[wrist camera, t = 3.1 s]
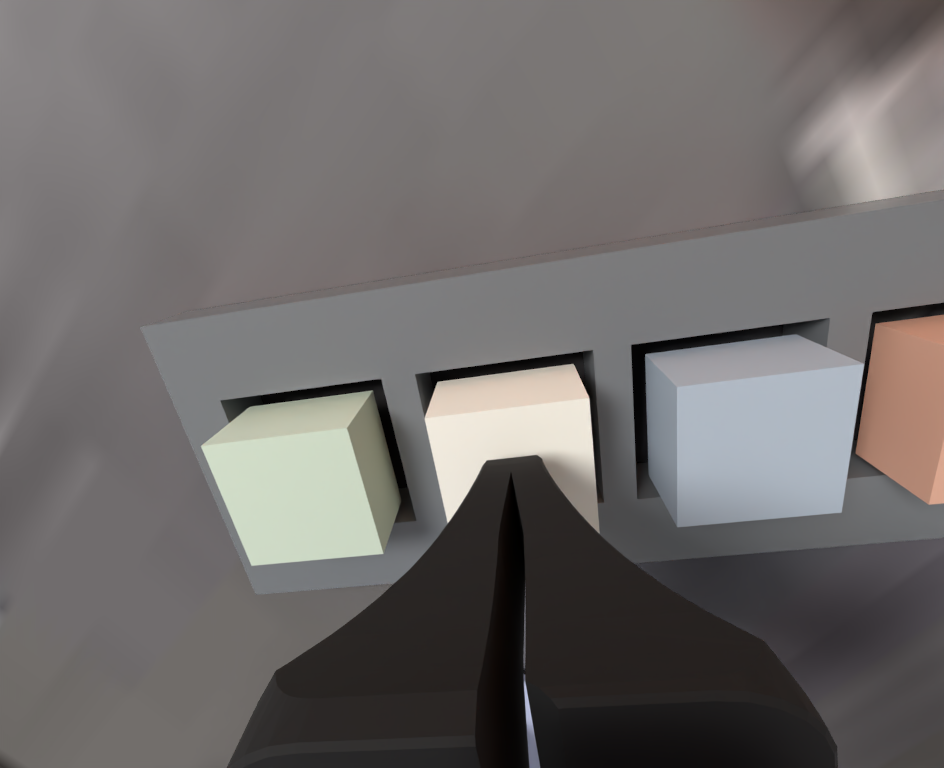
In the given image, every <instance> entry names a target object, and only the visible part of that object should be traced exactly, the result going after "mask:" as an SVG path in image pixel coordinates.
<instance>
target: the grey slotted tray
mask: <svg viewBox="0 0 944 768" xmlns="http://www.w3.org/2000/svg"><path fill="white" fill-rule="evenodd" d="M936 303H944V190H939V191H933V192H926V193H920V194H914V195H908V196H902V197H895V198H889V199H883V200H877V201H871V202H864V203H858V204H852V205H846V206H839V207H833V208H827V209H821V210H815V211H808V212H802V213H796V214H790V215H784V216H777V217H771V218H765V219H759V220H752V221H746V222H740V223H734V224H728V225H721V226H715V227H709V228H703V229H697V230H690V231H684V232H678V233H672V234H665V235H659V236H653V237H647V238H641V239H634V240H628V241H622V242H616V243H610V244H603V245H597V246H591V247H585V248H578V249H572V250H566V251H560V252H554V253H547V254H541V255H535V256H529V257H522V258H516V259H510V260H504V261H498V262H491V263H485V264H479V265H473V266H467V267H460V268H454V269H448V270H442V271H435V272H429V273H423V274H417V275H411V276H404V277H398V278H392V279H386V280H380V281H373V282H367V283H361V284H355V285H348V286H342V287H336V288H330V289H324V290H317V291H311V292H305V293H299V294H293V295H286V296H280V297H274V298H268V299H261V300H255V301H249V302H243V303H237V304H230V305H224V306H218V307H212V308H206V309H199V310H193V311H187V312H183V313H180V314H177V315H174V316H171V317H168V318H165V319H162V320H159V321H156V322H153V323H151V324H148V325H145V326H142V327H140V328H141V330H142V333H143V335H144V337H145V339H146V342H147V344H148V346H149V349H150V351H151V353H152V356H153V358H154V360H155V363H156V365H157V367H158V370H159V372H160V374H161V377H162V379H163V381H164V383H165V386H166V388H167V390H168V393H169V395H170V397H171V400H172V402H173V404H174V407H175V409H176V411H177V414H178V416H179V418H180V420H181V423H182V425H183V427H184V430H185V432H186V434H187V437H188V439H189V441H190V444H191V446H192V448H193V451H194V453H195V455H196V457H197V460H198V462H199V464H200V467H201V469H202V471H203V474H204V476H205V478H206V481H207V483H208V485H209V488H210V490H211V492H212V494H213V497H214V499H215V501H216V504H217V506H218V508H219V511H220V513H221V515H222V518H223V520H224V522H225V525H226V527H227V529H228V532H229V534H230V536H231V538H232V541H233V543H234V545H235V548H236V550H237V552H238V555H239V557H240V559H241V562H242V564H243V566H244V569H245V571H246V573H247V575H248V578H249V580H250V582H251V585H252V587H253V589H254V592H255V594H256V595H258V594H270V593H282V592H294V591H306V590H318V589H330V588H342V587H355V586H367V585H379V584H391V583H395V582H396V581H398V580H399V579H400V578H401V577H402V576H403V575H404V574H405V573H406V572H407V571H408V570H409V569H410V568H411V567H412V566H413V565H414V564H415V563H416V562H417V561H418V560H419V559H420V557H421V556H422V555H423V554H424V553H425V552H426V551H427V549H428V548H429V547H430V546H431V545H432V543H433V542H434V541H435V540H436V538H437V537H438V536H439V535H440V533H441V532H442V530H443V529H444V528H445V526H446V525H447V524H448V522H447V518H446V513H445V509H444V504H443V500H442V495H441V491H440V486H439V482H438V477H437V473H436V468H435V464H434V459H433V455H432V450H431V446H430V441H429V436H428V432H427V427H426V423H425V416H426V413H427V410H428V407H429V404H430V402H431V399H432V396H433V393H434V391H433V386H432V381H431V376H430V372H434V371H442V370H449V369H457V368H464V367H471V366H479V365H486V364H493V363H501V362H508V361H516V360H523V359H530V358H538V357H545V356H553V355H560V354H567V353H575V352H582V351H583V360H584V372H585V385H586V392H587V394H588V396H589V401H590V414H591V427H592V440H593V452H594V465H595V478H596V491H597V504H598V517H599V530H600V535H601V536H602V537H603V538H604V539H605V540H607V541H608V542H609V543H610V544H611V545H612V546H613V547H614V548H616V549H617V550H618V551H619V552H620V553H621V554H623V555H624V556H625V557H626V558H628V559H629V560H630V561H631V562H632V563H645V562H658V561H670V560H682V559H694V558H706V557H718V556H730V555H742V554H755V553H767V552H779V551H791V550H803V549H815V548H827V547H839V546H851V545H864V544H876V543H888V542H900V541H912V540H924V539H936V538H944V503H942V504H931V505H928V504H927V503H926V502H924V501H923V500H921V499H920V498H918V497H917V496H916V495H914V494H913V493H911V492H910V491H908V490H907V489H906V488H904V487H903V486H901V485H900V484H898V483H897V482H896V481H894V480H893V479H891V478H890V477H888V476H887V475H886V474H884V473H883V472H881V471H880V470H878V469H877V468H876V467H874V466H873V465H871V464H870V463H868V462H867V461H866V460H864V459H863V458H861V457H860V456H858V455H857V454H856V447H857V441H858V440H853V441H852V448H851V454H850V461H849V467H848V474H847V481H846V487H845V494H844V500H843V507H842V513H831V514H820V515H809V516H798V517H787V518H776V519H764V520H753V521H742V522H731V523H720V524H709V525H698V526H687V527H677V526H676V524H675V522H674V520H673V518H672V517H671V515H670V513H669V511H668V509H667V508H666V506H665V504H664V502H663V500H662V498H661V497H660V495H659V493H658V491H657V489H656V487H655V486H654V484H653V482H652V480H651V478H650V477H649V472H648V462H645V463H636V457H635V432H634V407H633V382H632V358H631V345H634V344H641V343H648V342H656V341H663V340H671V339H678V338H685V337H693V336H700V335H707V334H715V333H722V332H730V331H737V330H744V329H752V328H759V327H767V326H774V325H781V324H783V334H782V336H786V335H794V334H797V335H799V336H801V337H804V338H806V339H808V340H811V341H813V342H815V343H817V344H820V345H822V346H824V347H827V348H829V349H831V350H833V351H836V352H838V353H840V354H843V355H845V356H847V357H850V358H852V359H854V360H856V361H859V362H861V363H863V364H865V358H866V351H867V344H868V338H869V331H870V325H871V318H872V312H877V311H885V310H892V309H899V308H907V307H914V306H922V305H929V304H936ZM863 371H864V368H863ZM862 377H863V375H862ZM375 379H381V381H382V385H383V389H384V393H385V397H386V401H387V405H388V409H389V413H390V417H391V421H392V425H393V429H394V433H395V437H396V441H397V445H398V449H399V453H400V457H401V461H402V465H403V469H404V473H405V477H406V481H407V485H408V488H401V489H399V493H400V497H401V500H402V501H401V503H400V506H399V509H398V512H397V515H396V518H395V521H394V524H393V527H392V530H391V533H390V536H389V539H388V542H387V545H386V548H385V551H384V554H377V555H366V556H355V557H344V558H333V559H321V560H310V561H299V562H288V563H277V564H266V565H255V566H251V563H250V561H249V558H248V556H247V554H246V551H245V549H244V547H243V544H242V542H241V540H240V537H239V535H238V533H237V530H236V528H235V525H234V523H233V521H232V518H231V516H230V514H229V511H228V509H227V507H226V504H225V502H224V500H223V497H222V495H221V492H220V490H219V488H218V485H217V483H216V481H215V478H214V476H213V474H212V471H211V469H210V467H209V464H208V462H207V459H206V457H205V455H204V452H203V450H202V448H201V446H202V445H203V444H204V443H205V442H207V441H208V440H209V439H210V438H211V437H213V436H214V435H215V434H216V433H218V432H219V431H220V430H221V429H223V428H224V427H225V426H226V425H228V424H229V423H230V422H231V421H233V420H234V419H235V418H236V417H238V416H239V415H240V414H241V413H243V412H244V411H245V410H246V409H248V408H249V407H251V406H259V405H264V404H263V401H262V398H261V396H260V395H265V394H272V393H279V392H287V391H294V390H302V389H309V388H316V387H324V386H331V385H339V384H346V383H353V382H361V381H368V380H375ZM861 384H862V381H861ZM860 391H861V388H860ZM859 397H860V395H859ZM858 404H859V401H858ZM857 410H858V408H857ZM856 417H857V414H856ZM855 424H856V421H855ZM854 430H855V428H854ZM853 437H854V434H853Z"/></svg>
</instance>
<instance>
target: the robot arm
mask: <svg viewBox="0 0 944 768" xmlns="http://www.w3.org/2000/svg"><path fill="white" fill-rule="evenodd" d="M525 589H526V666H525V674H524V673H523V646H524V607H525ZM227 768H838V761H837V746H836V744H835V742H834V740H833V738H832V736H831V734H830V732H829V730H828V728H827V727H826V725H825V723H824V722H823V720H822V718H821V716H820V715H819V713H818V712H817V710H816V708H815V707H814V705H813V704H812V702H811V701H810V699H809V698H808V696H807V695H806V694H805V692H804V691H803V690H802V688H801V687H800V686H799V684H798V683H797V682H796V681H795V679H794V678H793V677H792V675H791V674H790V673H789V671H788V670H787V669H786V668H785V666H784V665H783V664H782V663H781V661H780V660H779V659H778V658H777V656H776V655H775V654H774V652H773V651H772V650H771V649H770V648H769V646H768V645H767V644H766V643H765V642H764V641H763V640H761V639H759V638H757V637H755V636H753V635H751V634H749V633H747V632H746V631H744V630H742V629H740V628H738V627H736V626H734V625H732V624H730V623H728V622H726V621H724V620H722V619H720V618H718V617H717V616H715V615H713V614H711V613H709V612H707V611H705V610H703V609H701V608H700V607H698V606H696V605H695V604H693V603H691V602H690V601H688V600H686V599H685V598H683V597H681V596H680V595H678V594H677V593H675V592H673V591H672V590H670V589H669V588H667V587H666V586H664V585H663V584H661V583H660V582H659V581H657V580H656V579H654V578H653V577H652V576H650V575H649V574H647V573H646V572H644V571H643V570H642V569H640V568H639V567H637V566H636V565H635V564H634V563H632V562H631V561H630V560H629V559H628V558H626V557H625V556H624V555H623V554H621V553H620V552H619V551H618V550H617V549H616V548H614V547H613V546H612V545H611V544H610V543H609V542H608V541H607V540H605V539H604V538H603V537H602V536H601V535H600V534H599V533H598V532H597V531H596V530H595V529H594V528H593V527H592V526H591V525H590V524H589V523H588V522H587V521H586V519H585V518H584V517H583V516H582V515H581V514H580V513H579V512H578V511H577V510H576V508H575V507H574V506H573V505H572V504H571V502H570V501H569V500H568V499H567V497H566V496H565V495H564V494H563V492H562V491H561V490H560V488H559V487H558V486H557V484H556V483H555V481H554V480H553V478H552V477H551V475H550V474H549V472H548V470H547V468H546V467H545V465H544V462H543V460H542V458H541V457H539V456H538V455H531V456H522V457H513V458H504V459H495V460H487V461H486V462H485V463H484V464H483V466H482V468H481V470H480V472H479V474H478V476H477V478H476V480H475V481H474V483H473V485H472V487H471V488H470V490H469V492H468V494H467V495H466V497H465V498H464V500H463V501H462V503H461V505H460V506H459V508H458V509H457V511H456V512H455V514H454V515H453V517H452V518H451V520H450V521H449V522H448V524H447V525H446V526H445V528H444V529H443V530H442V532H441V533H440V535H439V536H438V537H437V538H436V540H435V541H434V542H433V543H432V545H431V546H430V547H429V548H428V549H427V551H426V552H425V553H424V554H423V555H422V556H421V557H420V559H419V560H418V561H417V562H416V563H415V564H414V565H413V566H412V567H411V568H410V569H409V570H408V571H407V572H406V573H405V574H404V575H403V576H402V577H401V578H400V579H399V580H398V581H396V582H395V583H394V584H393V585H392V586H391V587H390V588H389V589H388V590H387V591H386V592H385V593H384V594H383V595H381V596H380V597H379V598H378V599H377V600H376V601H374V602H373V603H372V604H371V605H369V606H368V607H367V608H366V609H365V610H363V611H362V612H361V613H360V614H358V615H357V616H356V617H354V618H353V619H352V620H350V621H349V622H348V623H346V624H345V625H344V626H343V627H341V628H340V629H338V630H337V631H336V632H334V633H333V634H331V635H330V636H329V637H327V638H326V639H324V640H323V641H321V642H320V643H318V644H317V645H315V646H314V647H312V648H311V649H309V650H308V651H306V652H304V653H303V654H301V655H300V656H298V657H297V658H295V659H294V660H292V661H291V662H289V663H288V664H286V665H285V666H283V667H281V668H280V669H278V670H276V672H275V673H274V675H273V677H272V679H271V681H270V682H269V684H268V686H267V688H266V689H265V691H264V693H263V695H262V696H261V698H260V700H259V702H258V704H257V706H256V708H255V710H254V712H253V714H252V716H251V718H250V720H249V722H248V725H247V727H246V729H245V731H244V733H243V735H242V737H241V739H240V741H239V743H238V745H237V747H236V750H235V752H234V754H233V756H232V758H231V760H230V762H229V764H228V766H227Z"/></svg>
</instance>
